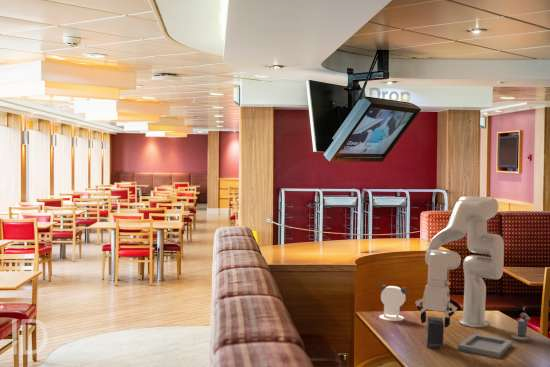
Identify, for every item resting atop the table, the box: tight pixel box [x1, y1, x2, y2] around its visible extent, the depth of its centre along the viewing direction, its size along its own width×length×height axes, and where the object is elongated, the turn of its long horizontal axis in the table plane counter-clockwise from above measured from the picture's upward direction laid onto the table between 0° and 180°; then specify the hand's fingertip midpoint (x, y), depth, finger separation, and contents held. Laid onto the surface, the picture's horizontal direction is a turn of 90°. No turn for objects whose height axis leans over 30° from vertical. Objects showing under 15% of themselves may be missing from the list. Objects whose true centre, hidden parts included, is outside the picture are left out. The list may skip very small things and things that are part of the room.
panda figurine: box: [379, 284, 408, 322], centre depth 310 cm, size 12×11×15 cm
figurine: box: [510, 312, 533, 344], centre depth 280 cm, size 8×8×12 cm
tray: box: [457, 333, 513, 359], centre depth 267 cm, size 20×16×2 cm
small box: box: [425, 315, 445, 350], centre depth 269 cm, size 11×6×10 cm, turn 168°
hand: (434, 324), depth 268 cm, fingers open, 9 cm apart
